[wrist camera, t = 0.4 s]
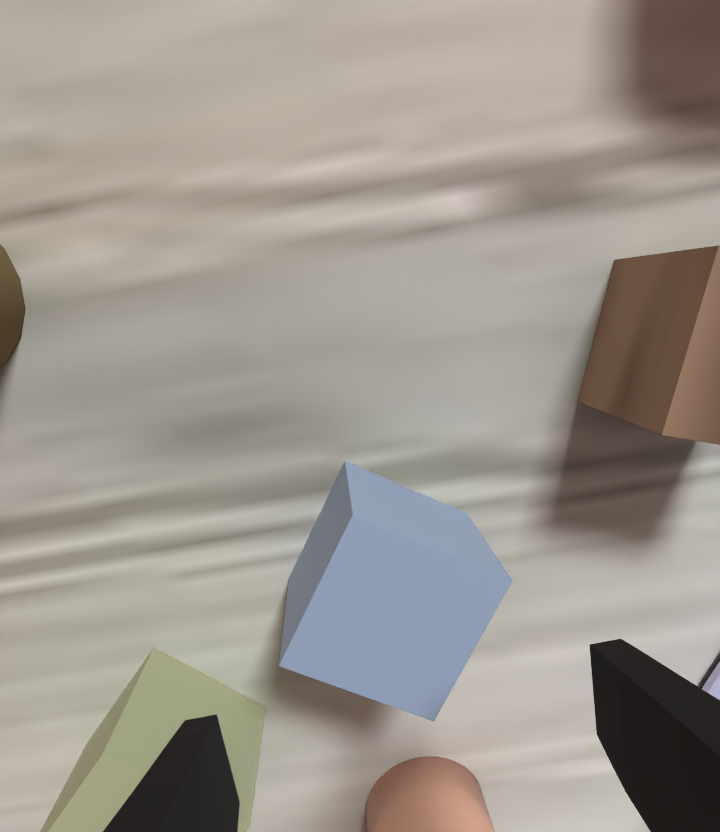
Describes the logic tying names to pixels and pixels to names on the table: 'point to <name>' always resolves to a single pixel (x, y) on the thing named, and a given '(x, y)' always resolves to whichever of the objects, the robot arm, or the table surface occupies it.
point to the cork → (9, 307)
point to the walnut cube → (660, 345)
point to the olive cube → (156, 742)
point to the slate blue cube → (389, 594)
